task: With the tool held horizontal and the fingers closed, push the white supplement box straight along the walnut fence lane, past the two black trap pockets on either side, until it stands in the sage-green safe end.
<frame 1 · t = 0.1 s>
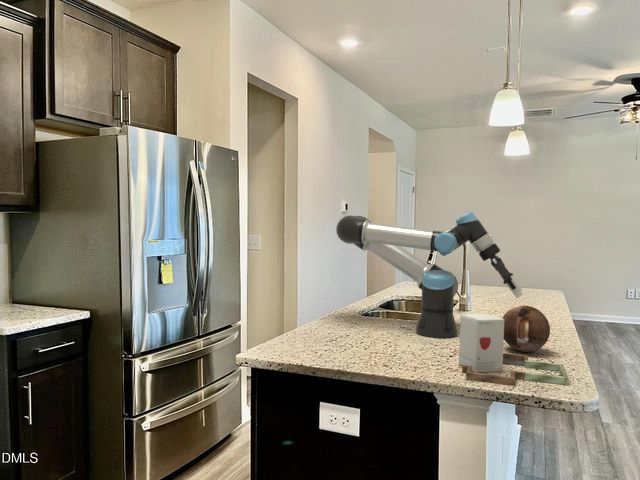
hand: (519, 294, 186), 15 cm above the counter, tool tilted 35°, fingers open, 13 cm apart
supplement box: (480, 368, 141), on the counter
wooden sphere: (523, 351, 160), on the counter
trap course: (508, 370, 138), on the counter
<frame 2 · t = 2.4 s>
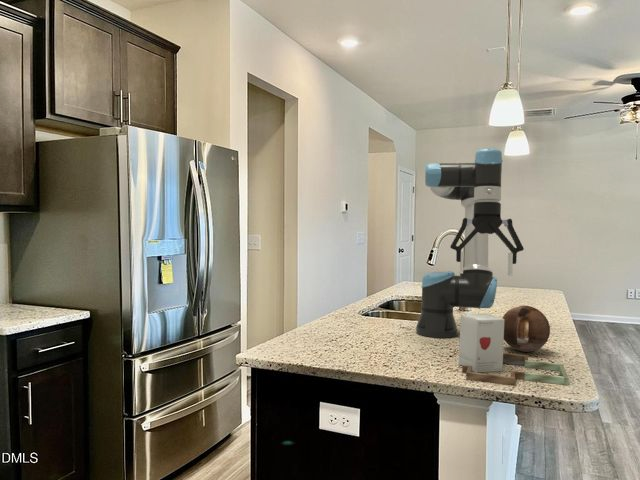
hand: (485, 274, 143), 27 cm above the counter, tool pointing down, fingers open, 13 cm apart
nothing on the counter moved.
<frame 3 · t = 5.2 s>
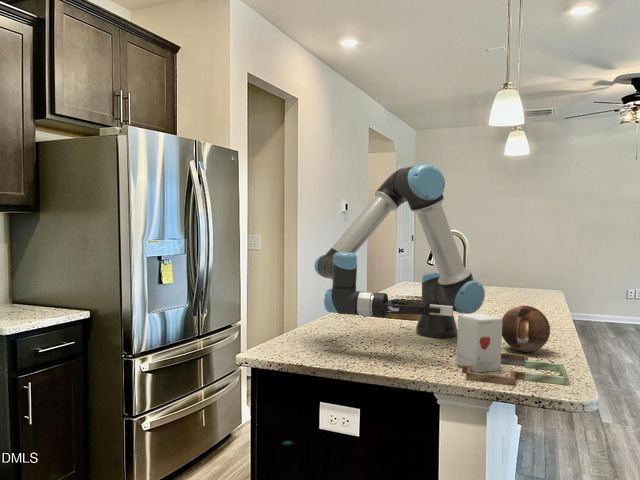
hand: (452, 311, 143), 16 cm above the counter, tool horizontal, fingers closed
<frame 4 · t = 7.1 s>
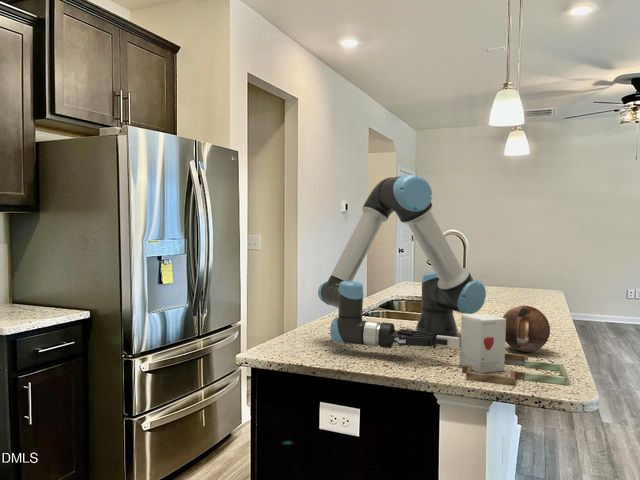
hand: (459, 342, 142), 7 cm above the counter, tool horizontal, fingers closed
supplement box: (481, 368, 140), on the counter, touching gripper
everything else where it was.
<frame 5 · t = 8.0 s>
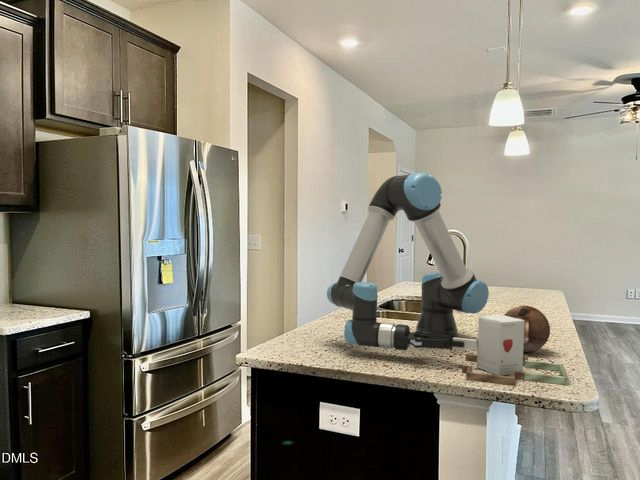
hand: (476, 344, 140), 7 cm above the counter, tool horizontal, fingers closed
supplement box: (499, 371, 138), on the counter, touching gripper
everything else where it was.
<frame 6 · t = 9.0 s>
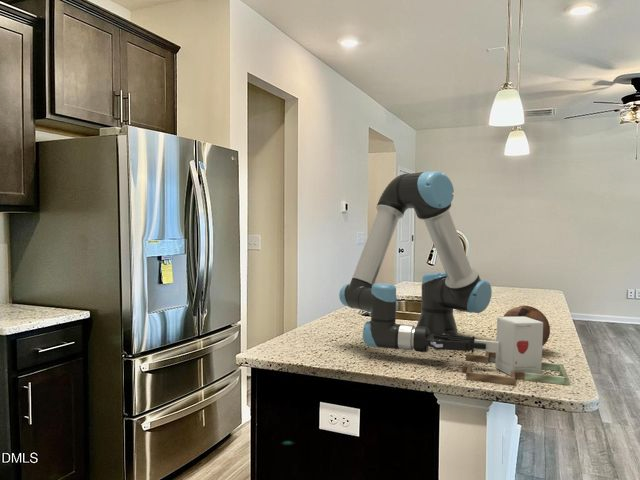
hand: (498, 346, 138), 7 cm above the counter, tool horizontal, fingers closed
supplement box: (517, 372, 137), on the counter, touching gripper
everything else where it was.
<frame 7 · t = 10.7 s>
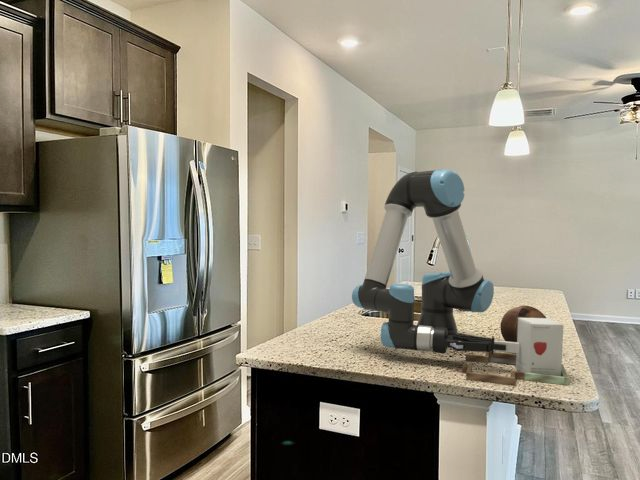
hand: (518, 348, 137), 7 cm above the counter, tool horizontal, fingers closed
supplement box: (537, 374, 136), on the counter, touching gripper
everything else where it was.
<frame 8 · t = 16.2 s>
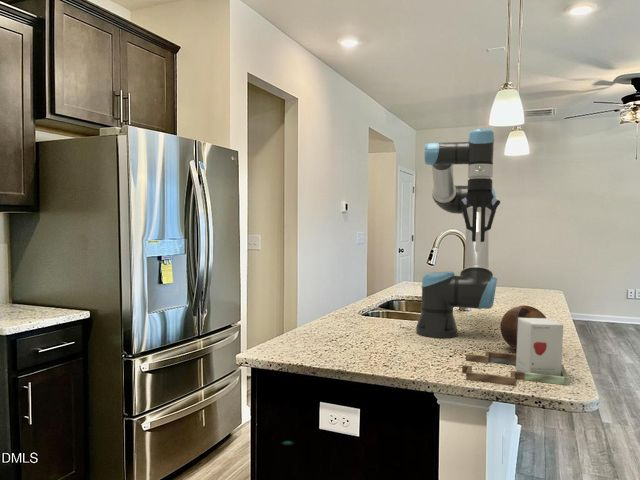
hand: (477, 252, 157), 32 cm above the counter, tool pointing down, fingers closed
supplement box: (537, 374, 136), on the counter
everything else where it was.
at the end: supplement box inside the target area (0.4 cm from its centre), on the counter; supplement box tilted 0°; the gripper is holding nothing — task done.
